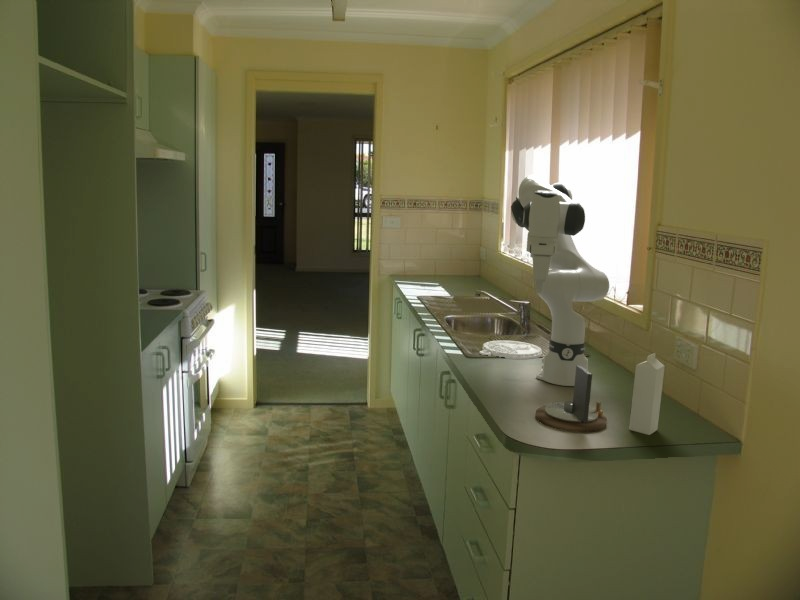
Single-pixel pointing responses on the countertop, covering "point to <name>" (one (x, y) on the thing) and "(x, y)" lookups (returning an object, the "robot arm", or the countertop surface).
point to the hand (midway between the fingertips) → (538, 292)
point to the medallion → (511, 349)
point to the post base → (571, 427)
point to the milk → (647, 396)
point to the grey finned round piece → (576, 402)
